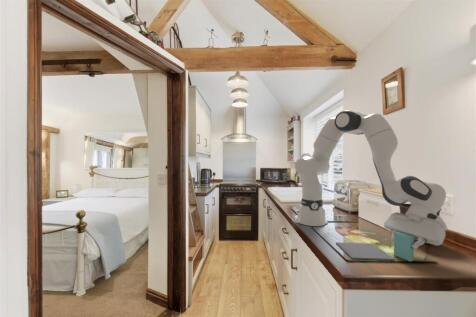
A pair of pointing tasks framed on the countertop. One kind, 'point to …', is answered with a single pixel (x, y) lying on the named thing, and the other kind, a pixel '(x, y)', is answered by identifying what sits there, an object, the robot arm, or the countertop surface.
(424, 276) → the countertop surface
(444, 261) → the countertop surface
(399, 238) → the teal board
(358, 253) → the mat
